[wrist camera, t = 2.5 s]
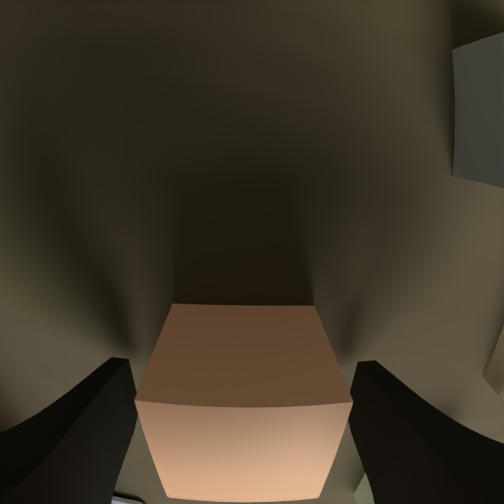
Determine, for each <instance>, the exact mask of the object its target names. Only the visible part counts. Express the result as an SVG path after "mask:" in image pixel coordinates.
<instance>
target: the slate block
mask: <svg viewBox="0 0 504 504" xmlns="http://www.w3.org/2000/svg"><path fill="white" fill-rule="evenodd" d="M452 57H453V70H454V89H455V142H454V161H453V175H452V176H455V177H460V178H464V179H469V180H473V181H477V182H482V183H486V184H490V185H494V186H498V187H502V188H504V32H502V33H499V34H496V35H493V36H490V37H487V38H484V39H481V40H478V41H475V42H472V43H469V44H466V45H463V46H461V47H458V48H455V49H453V50H452Z"/></svg>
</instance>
